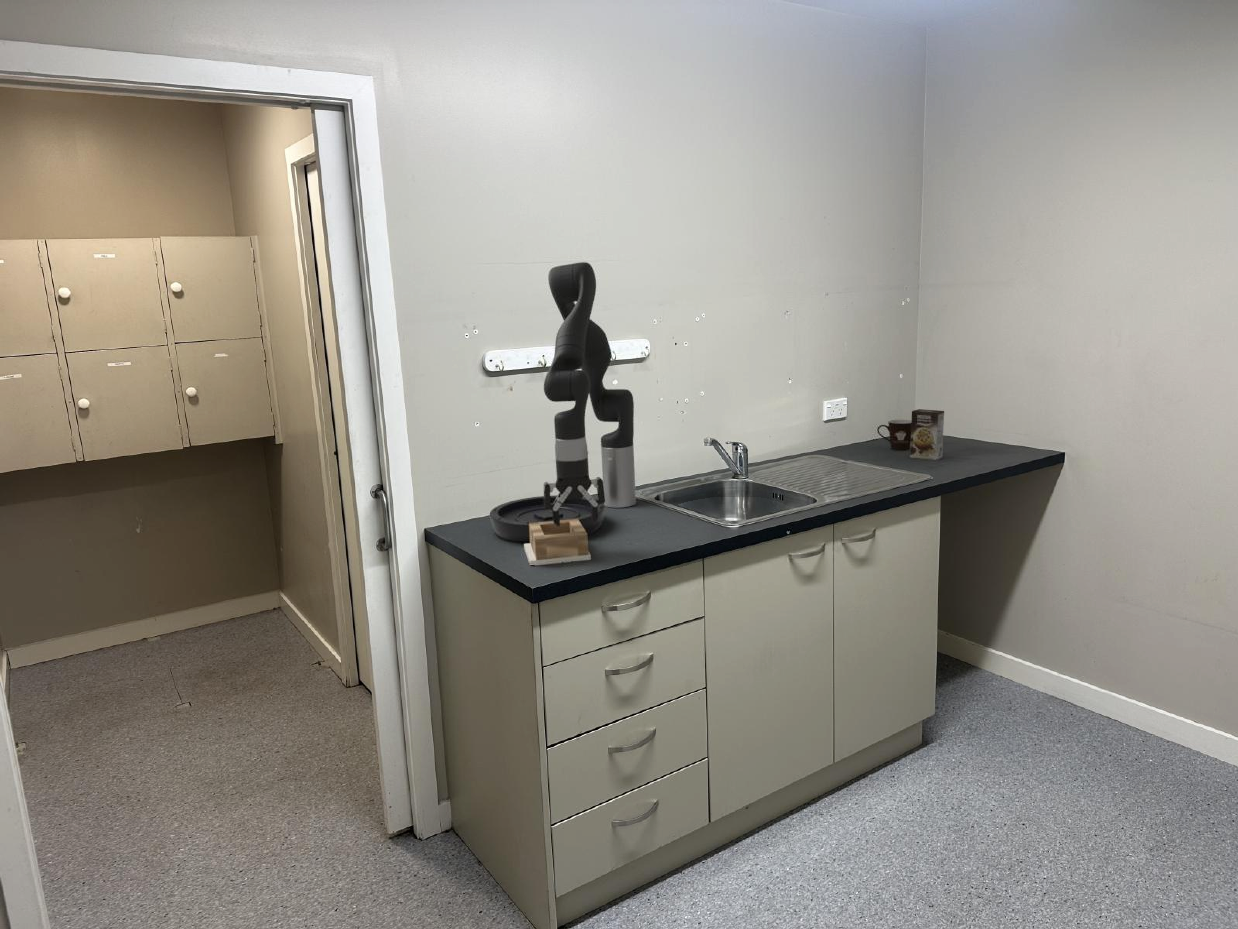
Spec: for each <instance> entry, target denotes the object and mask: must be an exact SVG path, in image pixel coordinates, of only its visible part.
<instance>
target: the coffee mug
mask: <svg viewBox="0 0 1238 929" xmlns="http://www.w3.org/2000/svg"><path fill="white" fill-rule="evenodd" d="M911 422H912V419H911V420H909V419H891V420H888V422H887V423H888V425H886V424H880V425H879V426H878V427H877V428H876V429H877V433H878V435H879V436H880V437H881V438H883V439H884V440H886V441H888V442H889V443H890V450H892V451H899V452H901V451H902V452H903V451H909V450H911ZM883 427H885V428H886V429H887V430H888V432H889V438H887V437H886V436H884V435H883V434H881V432H880V428H883Z"/></svg>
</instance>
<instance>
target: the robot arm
mask: <svg viewBox="0 0 1238 929" xmlns="http://www.w3.org/2000/svg"><path fill="white" fill-rule="evenodd" d="M547 279H548V285H549V286H548V287H549V289H550V292H551V295H552V297H553V301H554V302H555V304H556V307H557V309H558V311H559V313H560V315H561V317H562V320H563V322H562V324H560V327H559V329H558V330H557V333H556V338H555V344H554V355H553V358H552V362H551V363H550V365H549V366H550V367H549V369H548V371H547V372H546V375H545V378H544V380H543V392H544V395H545V396H546V398H547V399H548V400H549V401H551V402H555V403H559V402H563V403H564V402H575V404H574V405H573V406H574V407H572V408H571V409H567V410H563V411H560V412H557V413H556V414H554V420H553V421H554V422H553V423H554V436H555V437H554V438H555V439H554V440H555V443H554V452H555V467H556V481H555V482H547V481H545V482H544V483H543V496H544V506H545V508H546V509H550V510H552V514H553V522H554V524H556V525H557V526H560V517H559V510H558V509H559V507H560V505H561V504H562V503H563V502H564V500H565V499H568V500H572V499H581V498H583V497H585V498H586V499H587V500H588V501H589V502H590V503H591V505H590V506H591V520H592V522H596V520H597V519H598V505H600V504H604V506H605V507H607V508H615V509H617V508H629V507H631V506H634V505H636V503H637V501H636V499H637V497H636V480H635V479H636V473H635V472H636V471H635V452H634V447H635V446H634V432H635V431H634V430H635V428H634V427H635V426H634V425H635V424H634V420H635V419H634V413H635V411H634V409H635V407H634V406H635V404H634V395H633V393H632V392H631V390H629V389H626V388H625V389H624V388H623V389H622V388H621V389H619V388H615V389H613V388H612V389H608V388H606V387H605V386H604V382H603V380H604V377H605V374H606V373H607V371H608V369H609V366H610V363H611V362H612V361H611V360H612V355H613V354H612V350H611V346H610V343H609V340H608V337H607V334H606V332H605V331H604V330H603V328H601V326H600V325H599V324H597V323H596V322H595V321H593V320H592V319H591V314H592V310H593V307H594V301H595V297H596V291H597V279H596V273H595V270H594V268H593V266H592V264H590V263H589V262H586V261H585V262H583V261H582V262H581V261H580V262H575V263H569V264H563V265H558V266H555V267H552V268H550V270H549V272H548V275H547ZM575 302H576V303H575ZM589 398H590V399H589ZM588 399H589V400H590V404H591V406H592V410H593V413H594V416H595V417H596V419H597V420H598V421H600V422H604V423H618V424H617V425H618V426H617V428H616V429H615V430H614V431H612V432H611V431H610V432H609V433H605V434H603V435H602V436H601V438H600V449H601V450H600V451H601V452H600V453H601V468H602V470H601V474H602V478H601V477H600V476H598V477H596V478H593V479H591V478H590V474H589V473H590V472H589V470H590V468H589V458H588V457H589V451H588V444H587V443H588V442H587V437H586V419H585V418H586V408H587V404H588V403H587V402H588ZM592 485H593V486H594V488H595V489H596V492H597V493H596V494H597V498H594V497H593V496H592V495H591V493H589V492H588V491H589V490H590V488H591V487H592ZM554 489H556V490H557V491H558V494H557V497H556V499H555V501H554V502H553V504H552V503H550V496H551V493H553V492H554ZM594 499H595V500H594Z"/></svg>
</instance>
